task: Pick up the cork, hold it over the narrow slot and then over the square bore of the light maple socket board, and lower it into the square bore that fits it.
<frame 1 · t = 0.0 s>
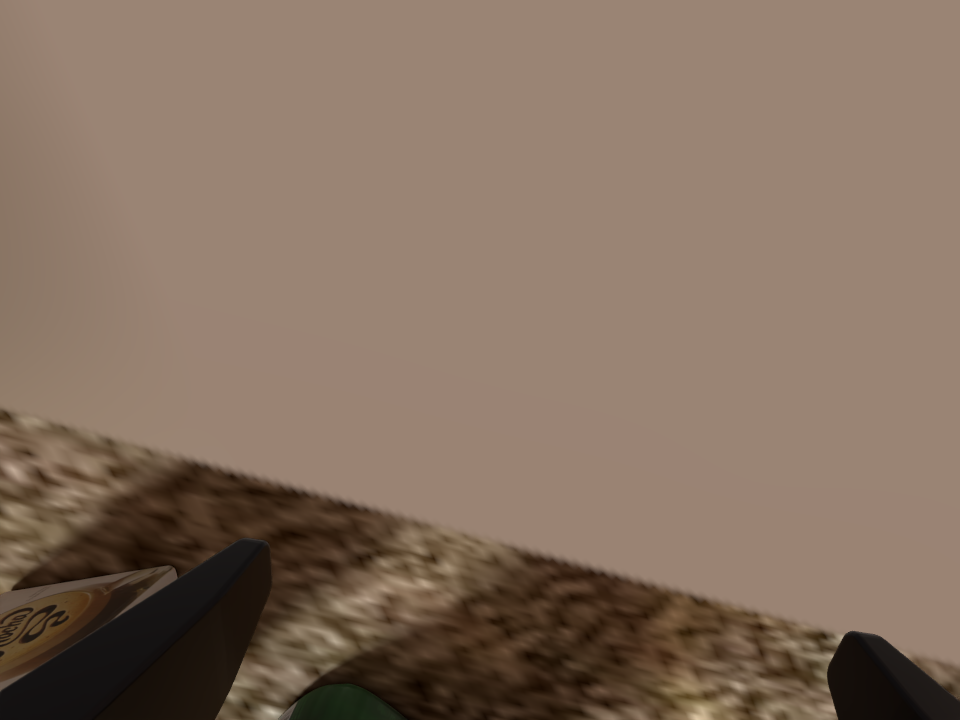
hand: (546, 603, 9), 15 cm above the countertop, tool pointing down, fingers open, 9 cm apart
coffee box: (112, 631, 28), on the countertop
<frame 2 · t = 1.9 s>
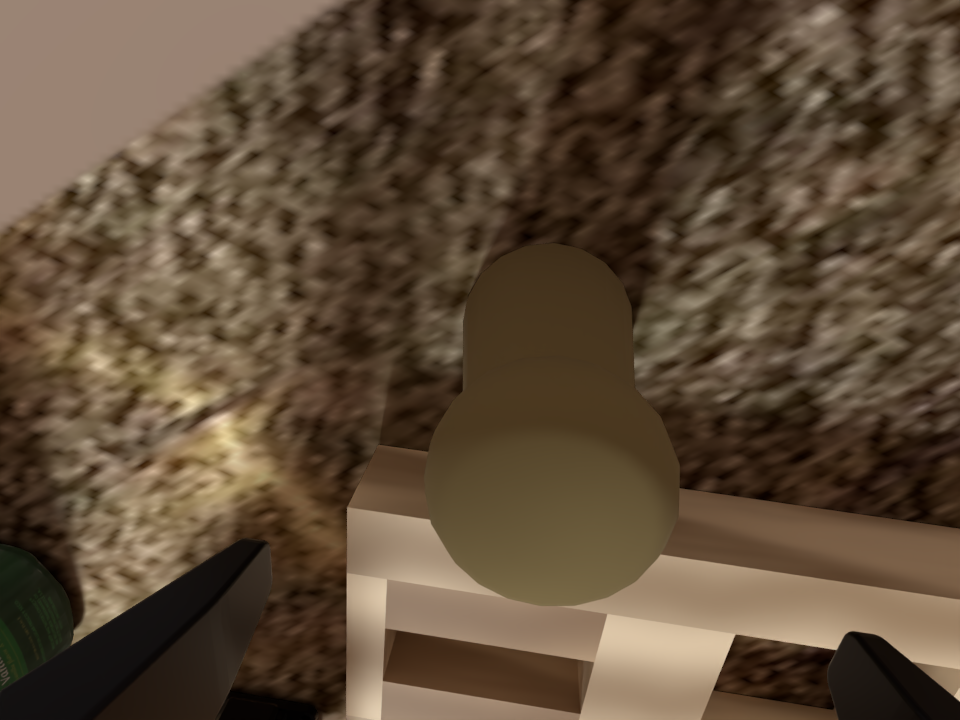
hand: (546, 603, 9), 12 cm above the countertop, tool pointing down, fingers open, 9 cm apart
socket board: (636, 614, 25), on the countertop
cork: (546, 324, 20), on the countertop
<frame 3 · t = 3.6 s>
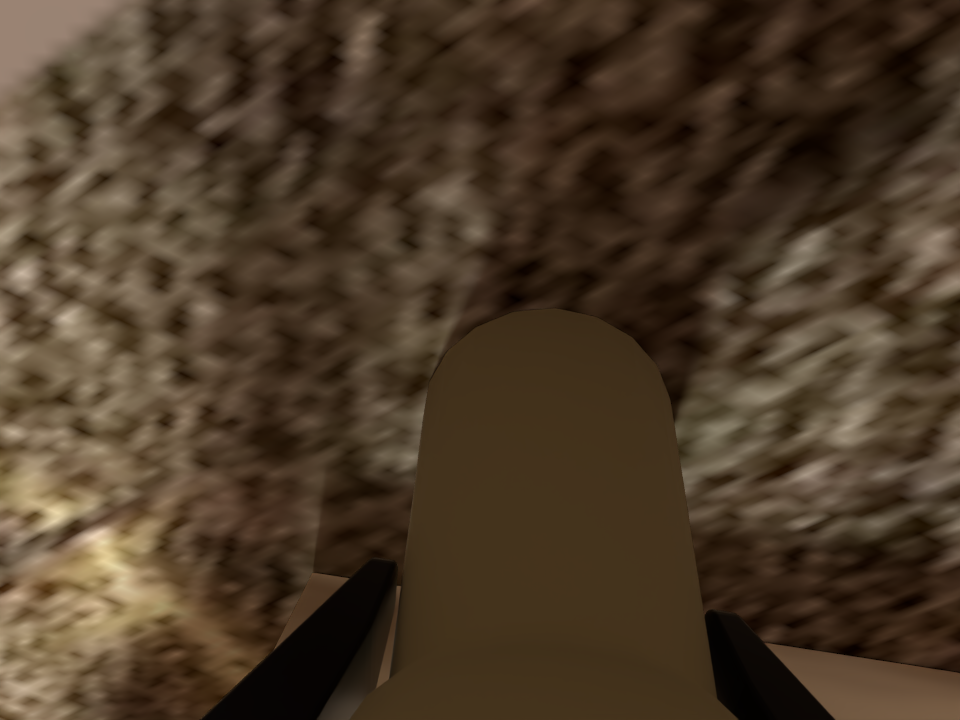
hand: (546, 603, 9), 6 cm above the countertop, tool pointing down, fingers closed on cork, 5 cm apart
cork: (544, 420, 14), on the countertop, touching gripper
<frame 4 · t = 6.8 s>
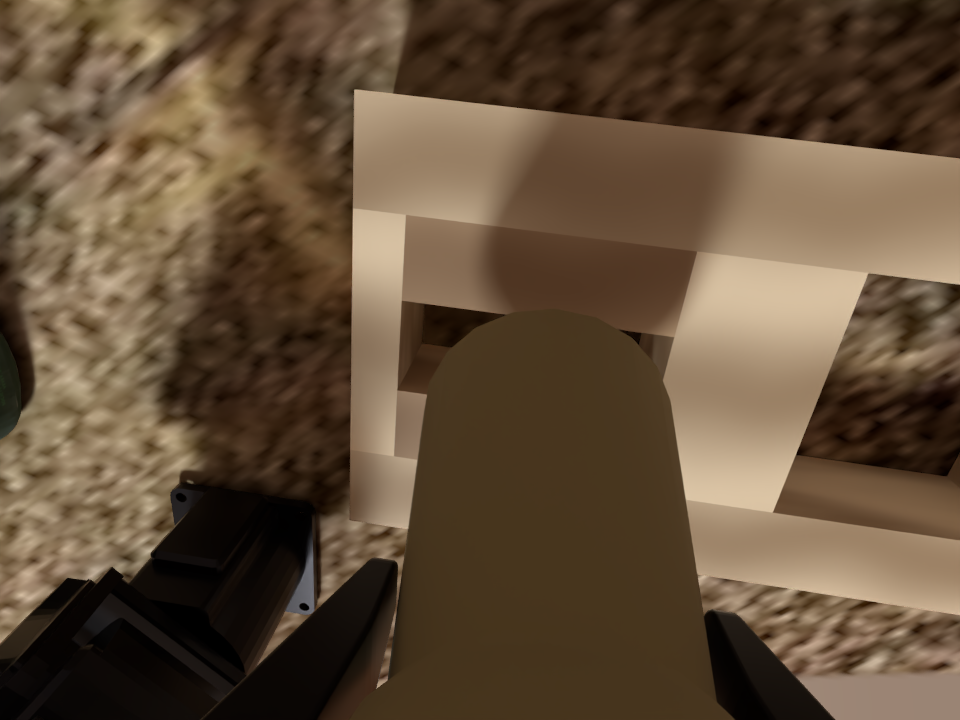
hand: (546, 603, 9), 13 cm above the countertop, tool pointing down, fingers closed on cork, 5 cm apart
socket board: (710, 344, 20), on the countertop
cork: (544, 421, 14), point 7 cm above the countertop, touching gripper
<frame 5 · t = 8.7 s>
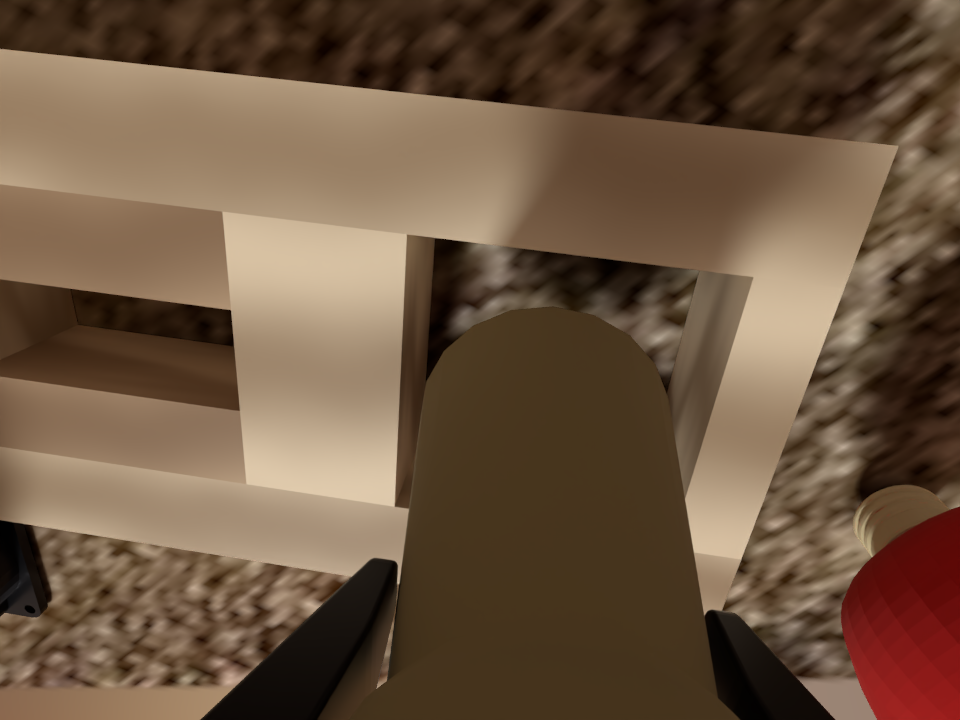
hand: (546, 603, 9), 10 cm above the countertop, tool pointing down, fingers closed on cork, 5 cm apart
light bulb: (879, 498, 19), on the countertop
socket board: (369, 324, 19), on the countertop
cork: (542, 419, 14), point 5 cm above the countertop, touching gripper
when the fingers open (7 cm above the countertop, at t = 10.2 s): cork drops 1 cm, resting in socket board.
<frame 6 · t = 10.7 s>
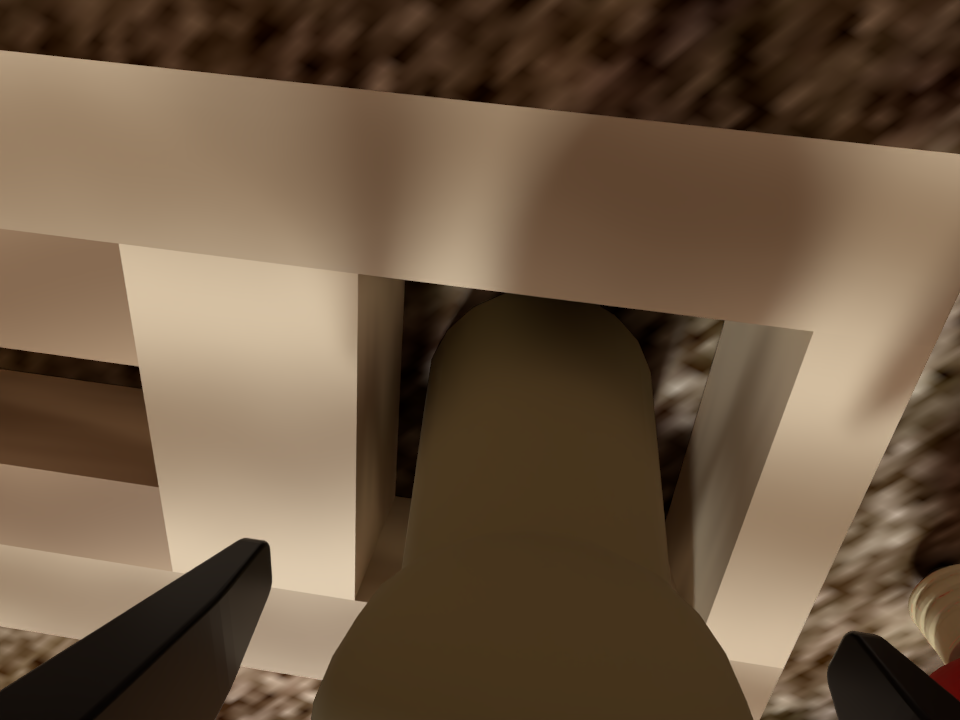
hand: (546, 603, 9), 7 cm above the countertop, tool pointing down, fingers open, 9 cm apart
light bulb: (937, 571, 16), on the countertop
socket board: (329, 368, 15), on the countertop
cork: (537, 393, 15), resting in socket board
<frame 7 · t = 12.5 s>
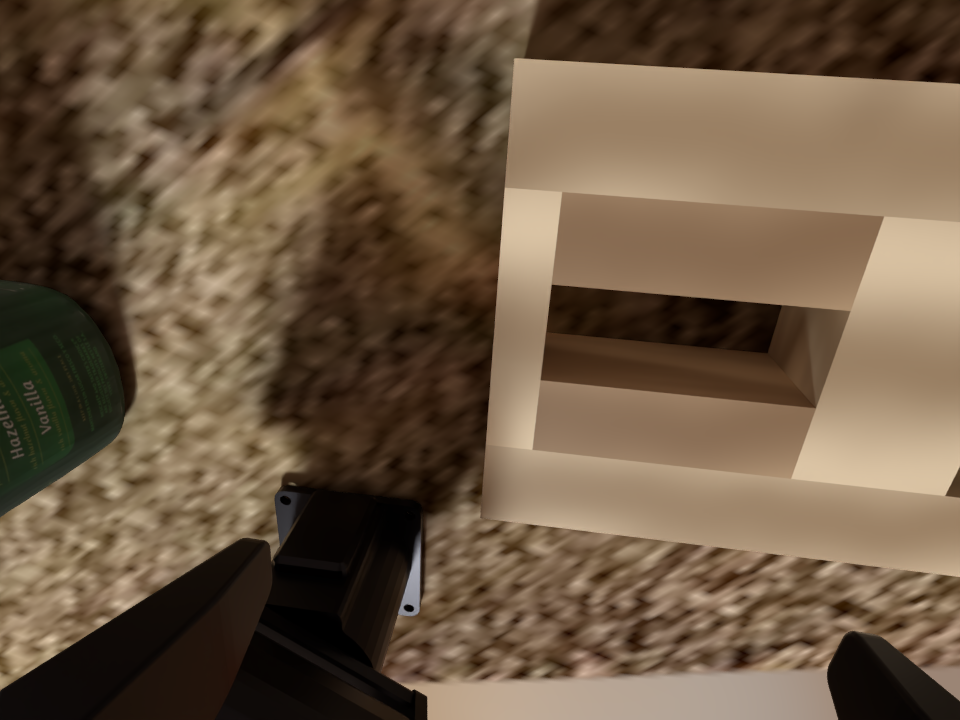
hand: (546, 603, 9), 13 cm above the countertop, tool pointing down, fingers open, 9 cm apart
socket board: (855, 320, 19), on the countertop
coffee jar: (28, 357, 24), on the countertop
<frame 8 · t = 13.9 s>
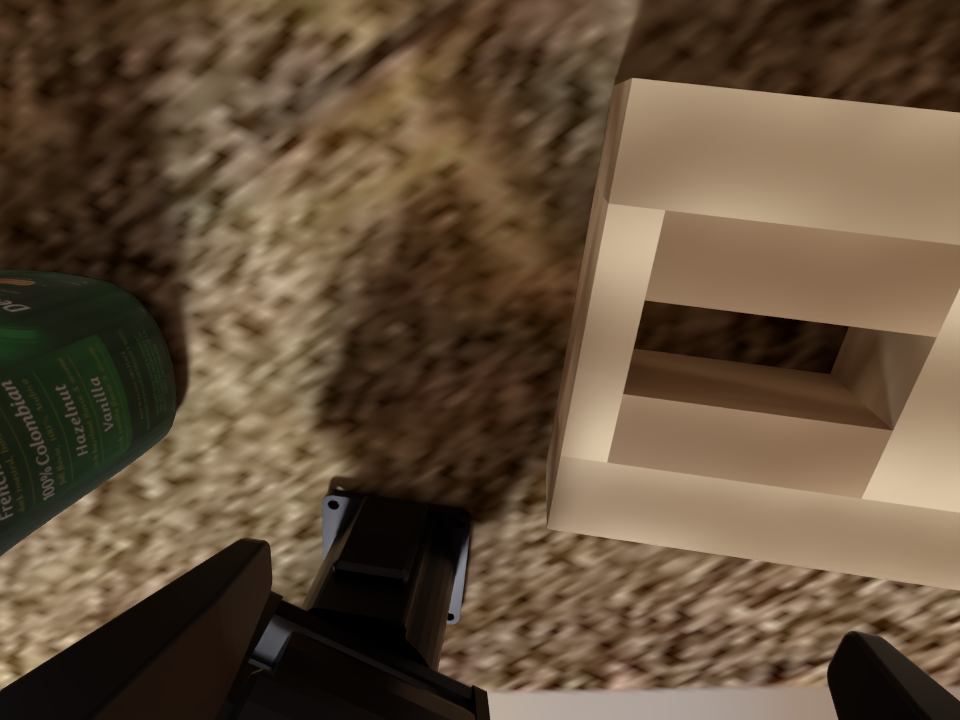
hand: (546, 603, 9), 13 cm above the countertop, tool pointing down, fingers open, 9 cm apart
socket board: (918, 345, 20), on the countertop
coffee jar: (77, 352, 23), on the countertop
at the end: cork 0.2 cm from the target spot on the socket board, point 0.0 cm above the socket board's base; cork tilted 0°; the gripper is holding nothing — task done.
